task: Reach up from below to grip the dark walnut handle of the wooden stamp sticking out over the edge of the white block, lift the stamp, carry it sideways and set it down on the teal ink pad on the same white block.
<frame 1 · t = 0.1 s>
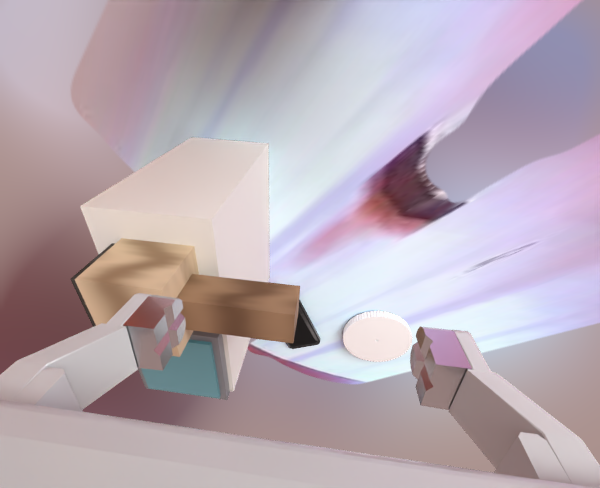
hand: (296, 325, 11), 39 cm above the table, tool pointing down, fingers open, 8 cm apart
stamp: (200, 279, 30), point 24 cm above the table, touching white block
plastic lid: (375, 330, 66), on the table
white block: (235, 215, 54), on the table
phone: (293, 319, 67), on the table
ink pad: (182, 357, 38), resting on white block
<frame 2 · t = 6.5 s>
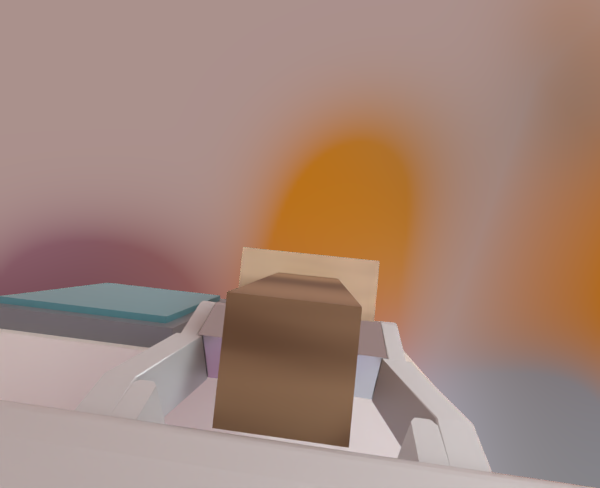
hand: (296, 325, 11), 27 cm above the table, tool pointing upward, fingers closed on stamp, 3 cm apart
stamp: (299, 357, 18), point 24 cm above the table, touching gripper, white block
ink pad: (128, 317, 23), resting on white block
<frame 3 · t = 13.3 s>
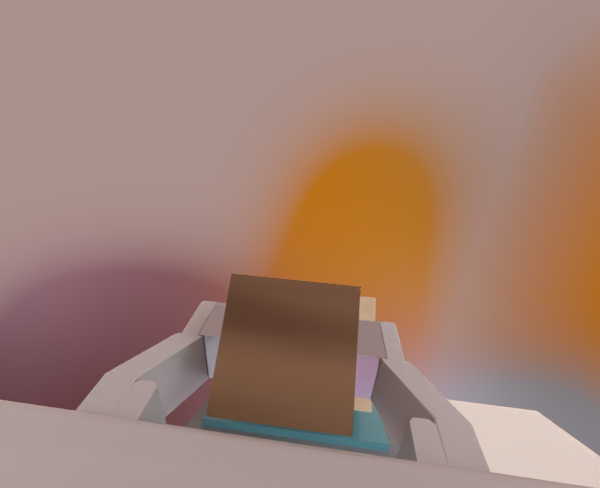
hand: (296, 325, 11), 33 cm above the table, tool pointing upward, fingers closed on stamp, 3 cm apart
stamp: (296, 402, 16), point 27 cm above the table, tilted 15°, touching gripper, ink pad
ink pad: (297, 416, 22), resting on white block
when the fingers open (31 cm above the table, at t = 14.1 s): stamp stays where it is, resting on ink pad.
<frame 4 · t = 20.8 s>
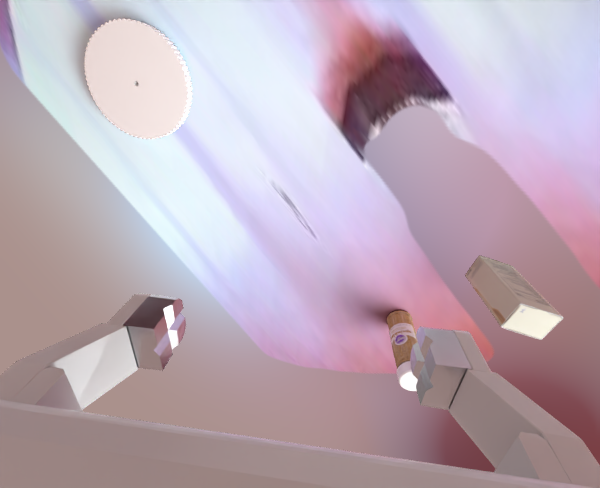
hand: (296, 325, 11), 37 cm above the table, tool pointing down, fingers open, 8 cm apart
sprinkles bottle: (398, 318, 56), on the table
skincare box: (488, 270, 50), on the table
plastic lid: (147, 83, 43), on the table
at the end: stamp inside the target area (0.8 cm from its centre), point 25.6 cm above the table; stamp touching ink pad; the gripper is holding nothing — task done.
